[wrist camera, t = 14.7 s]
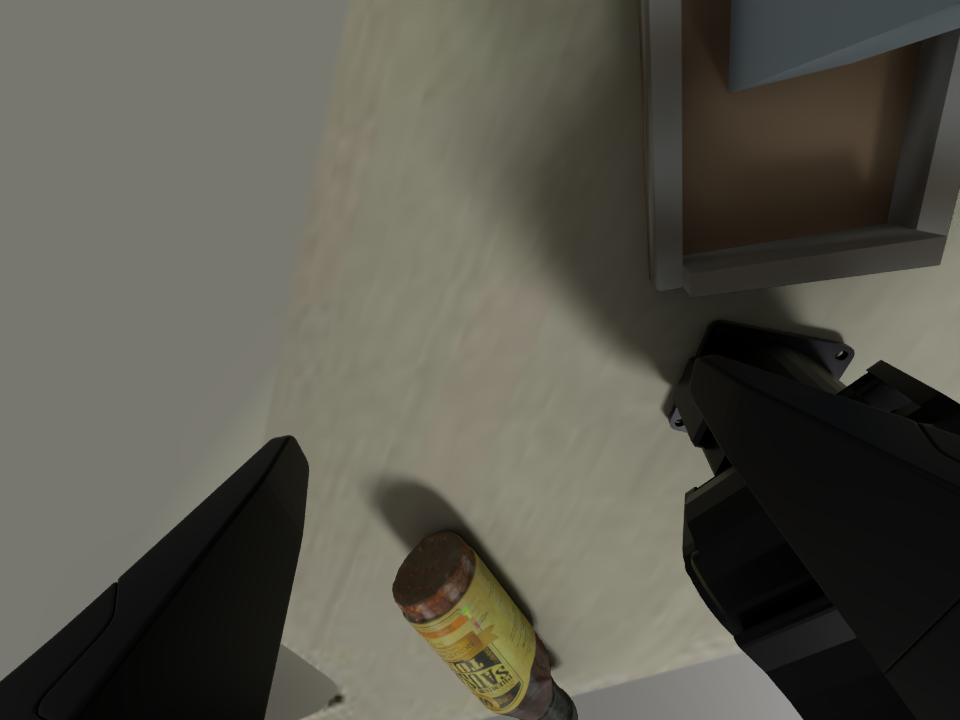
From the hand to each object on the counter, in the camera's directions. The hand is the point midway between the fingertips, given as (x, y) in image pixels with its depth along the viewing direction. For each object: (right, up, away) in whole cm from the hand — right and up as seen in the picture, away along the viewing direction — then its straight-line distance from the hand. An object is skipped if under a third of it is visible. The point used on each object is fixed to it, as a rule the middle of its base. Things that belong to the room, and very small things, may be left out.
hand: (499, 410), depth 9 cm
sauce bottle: (-5, -13, +19) cm, 24 cm away
